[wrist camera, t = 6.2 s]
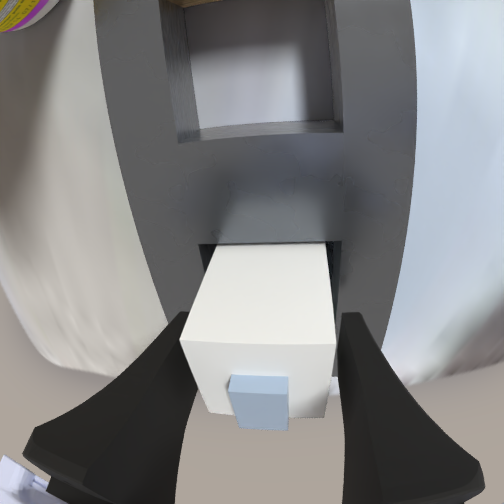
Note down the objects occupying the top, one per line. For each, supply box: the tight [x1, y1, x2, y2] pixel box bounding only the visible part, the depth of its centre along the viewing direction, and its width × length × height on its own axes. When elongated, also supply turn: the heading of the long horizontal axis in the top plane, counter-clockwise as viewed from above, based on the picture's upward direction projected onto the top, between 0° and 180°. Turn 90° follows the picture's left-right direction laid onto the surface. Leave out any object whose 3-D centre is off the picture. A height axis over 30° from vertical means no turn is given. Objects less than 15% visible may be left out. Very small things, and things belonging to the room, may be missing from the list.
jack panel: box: [93, 0, 417, 377], centre depth 11 cm, size 10×20×2 cm, turn 5°
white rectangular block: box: [179, 241, 336, 430], centre depth 11 cm, size 4×4×8 cm
